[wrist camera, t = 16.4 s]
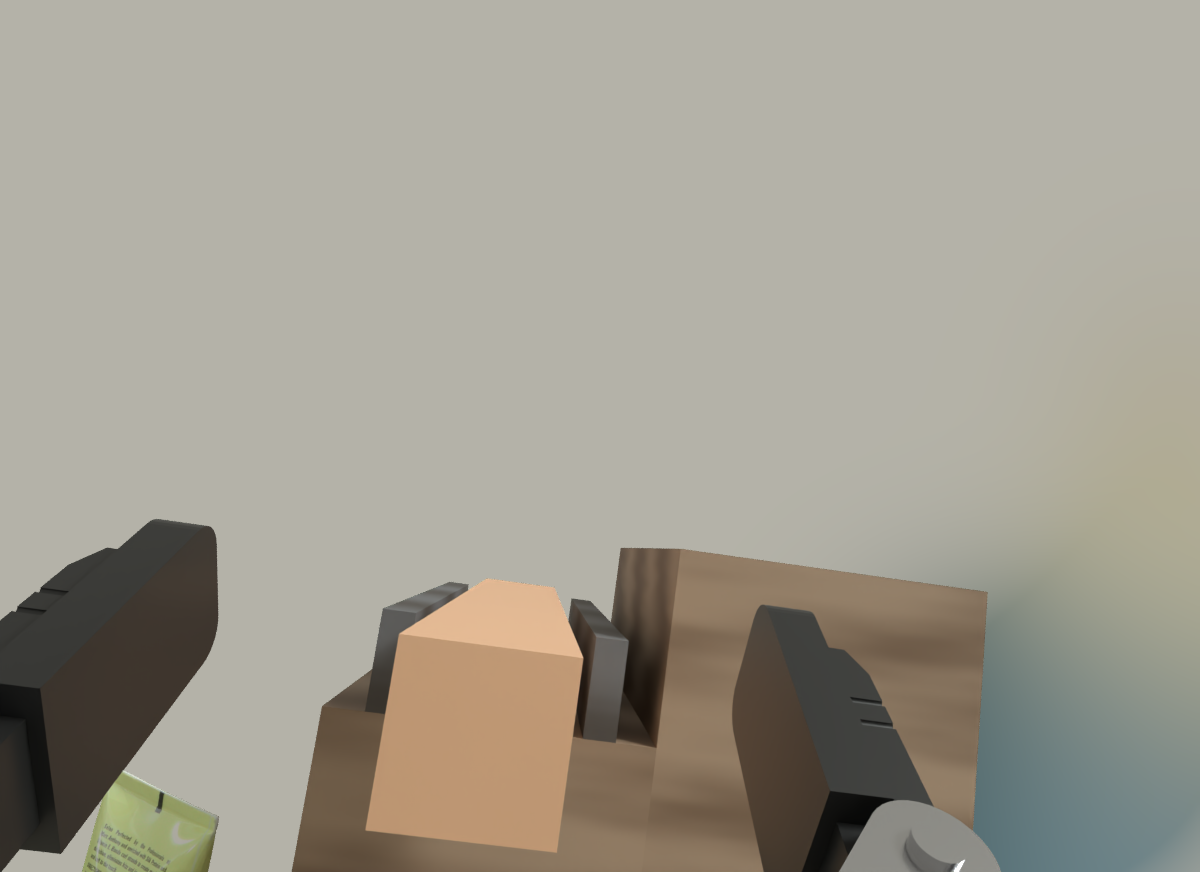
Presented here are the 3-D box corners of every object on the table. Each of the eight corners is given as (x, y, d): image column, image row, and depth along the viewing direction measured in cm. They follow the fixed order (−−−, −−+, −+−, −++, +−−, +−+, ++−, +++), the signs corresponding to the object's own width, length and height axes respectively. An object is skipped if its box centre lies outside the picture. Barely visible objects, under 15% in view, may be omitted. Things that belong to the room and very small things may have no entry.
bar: (556, 852, 14) (583, 658, 15) (365, 830, 14) (399, 634, 15) (544, 656, 40) (554, 587, 41) (476, 647, 40) (487, 578, 40)
